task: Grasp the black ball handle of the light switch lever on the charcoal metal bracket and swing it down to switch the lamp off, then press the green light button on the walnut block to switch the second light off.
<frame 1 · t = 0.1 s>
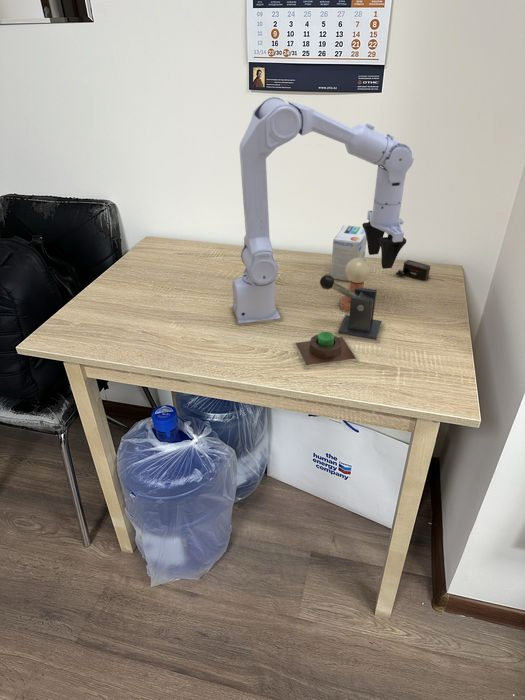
hand: (379, 260, 117), 10 cm above the table, tool pointing down, fingers open, 7 cm apart
button block: (324, 352, 104), on the table
switch bracket: (359, 330, 111), on the table
globe lamp: (354, 307, 120), on the table
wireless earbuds: (411, 277, 133), on the table
switch lever: (344, 291, 108), point 9 cm above the table, hinge at 22.0°
light button: (325, 339, 102), point 3 cm above the table, slide at 0.1 cm
light bulb box: (347, 273, 135), on the table
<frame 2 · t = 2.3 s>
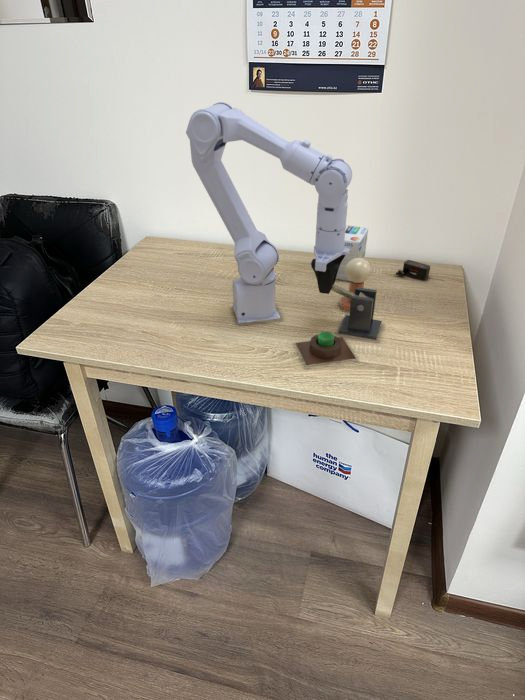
hand: (326, 289, 109), 9 cm above the table, tool pointing down, fingers closed on switch lever, 3 cm apart
switch lever: (344, 292, 108), point 8 cm above the table, hinge at 18.3°, touching gripper
everything else where it was.
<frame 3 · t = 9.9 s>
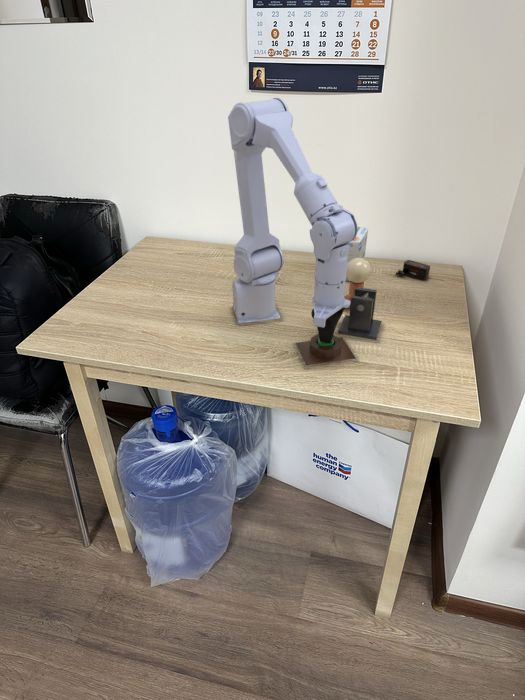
hand: (325, 340, 103), 3 cm above the table, tool pointing down, fingers closed, pressing on light button
switch lever: (344, 306, 109), point 5 cm above the table, hinge at -26.7°
light button: (325, 344, 103), point 2 cm above the table, slide at -1.0 cm, touching gripper
everything else where it was.
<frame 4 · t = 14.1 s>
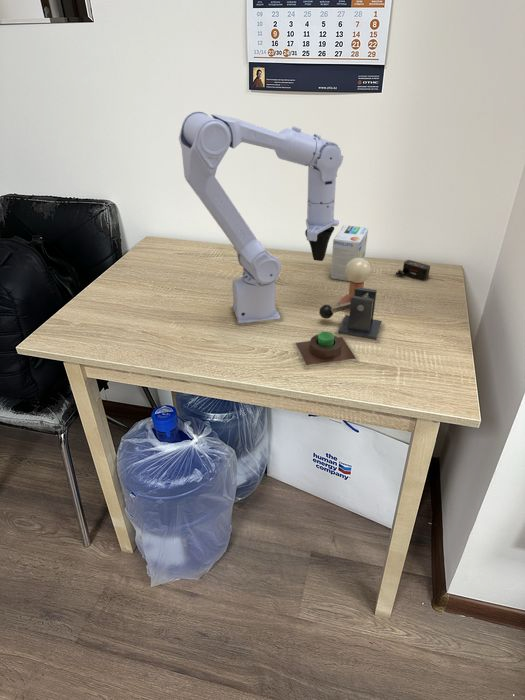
hand: (318, 259, 117), 10 cm above the table, tool pointing down, fingers closed
light button: (325, 339, 102), point 3 cm above the table, slide at 0.1 cm
everything else where it was.
at the end: switch lever at -27° (first picture: +22°); light button pushed in 1.3 cm at the most during the clip, back to where it started at the end; light button slide at 0.1 cm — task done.
